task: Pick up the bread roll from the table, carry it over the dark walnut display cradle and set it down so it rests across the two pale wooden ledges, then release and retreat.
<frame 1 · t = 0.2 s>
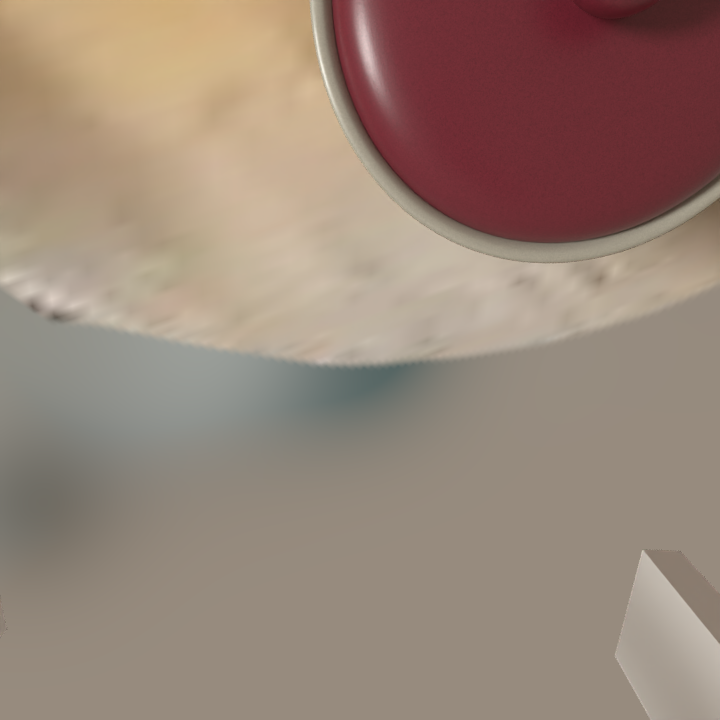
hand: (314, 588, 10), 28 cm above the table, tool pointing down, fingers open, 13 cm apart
canister: (473, 94, 33), on the table
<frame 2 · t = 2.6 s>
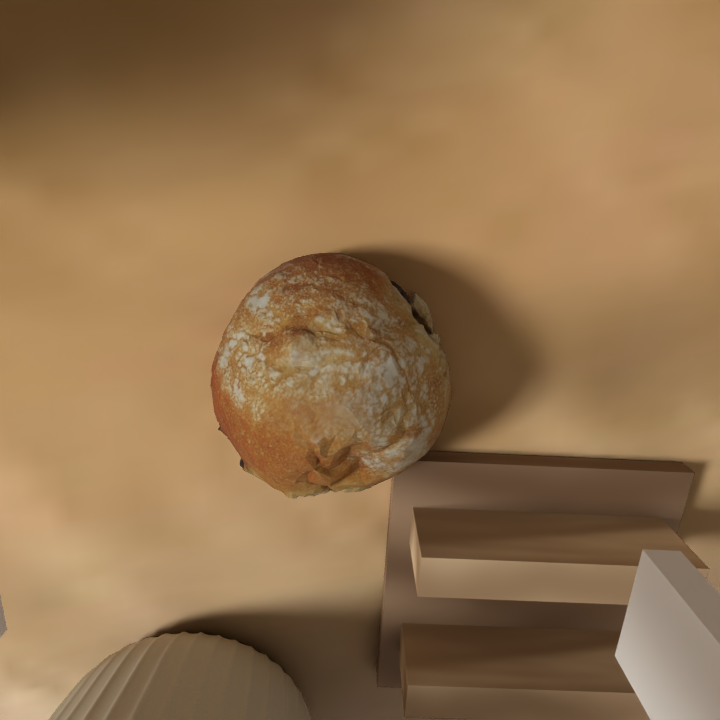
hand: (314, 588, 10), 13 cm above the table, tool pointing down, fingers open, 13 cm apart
bread roll: (331, 369, 23), on the table
canister: (203, 699, 29), on the table
display stand: (517, 574, 26), on the table
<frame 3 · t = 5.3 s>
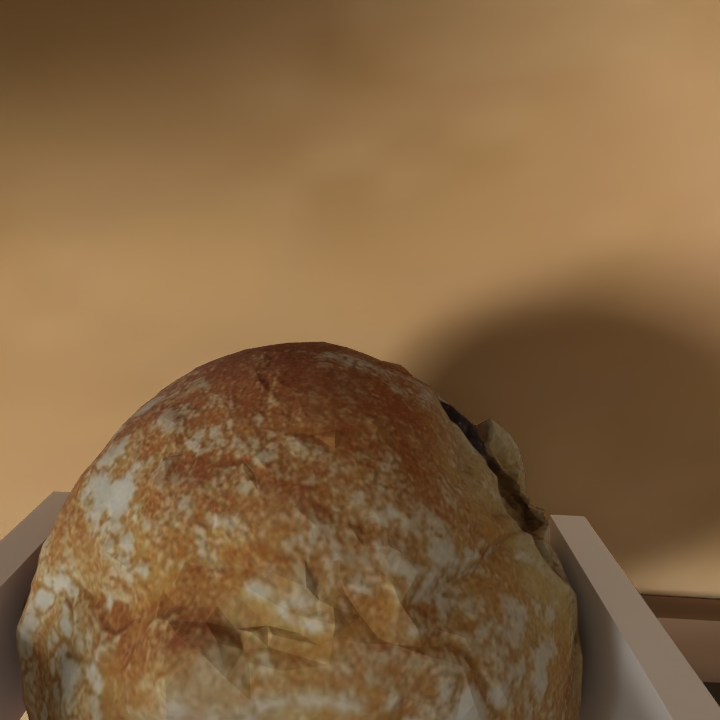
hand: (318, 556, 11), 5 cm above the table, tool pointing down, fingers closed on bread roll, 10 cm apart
bread roll: (315, 550, 12), point 4 cm above the table, touching gripper
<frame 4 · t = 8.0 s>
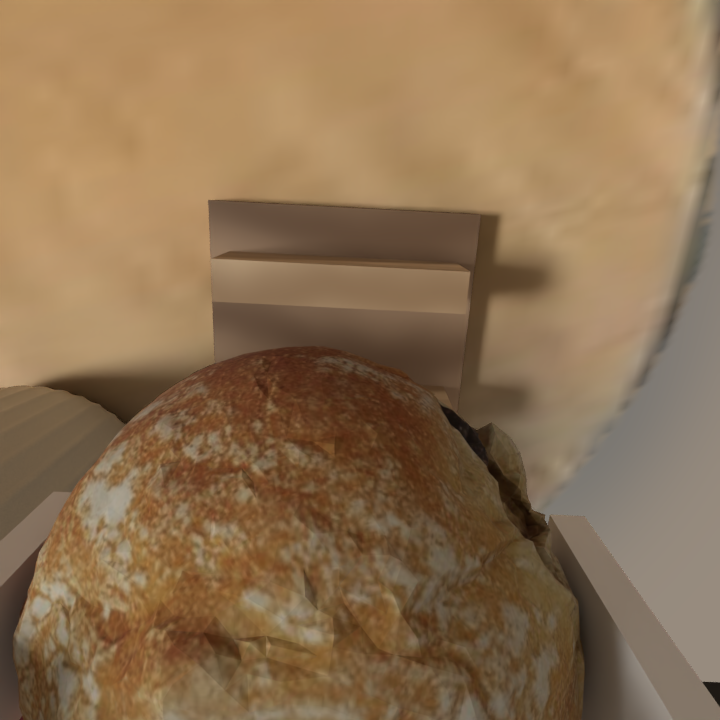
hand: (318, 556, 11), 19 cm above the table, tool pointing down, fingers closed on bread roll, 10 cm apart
bread roll: (315, 555, 12), point 18 cm above the table, touching gripper
canister: (67, 472, 32), on the table
display stand: (340, 334, 29), on the table
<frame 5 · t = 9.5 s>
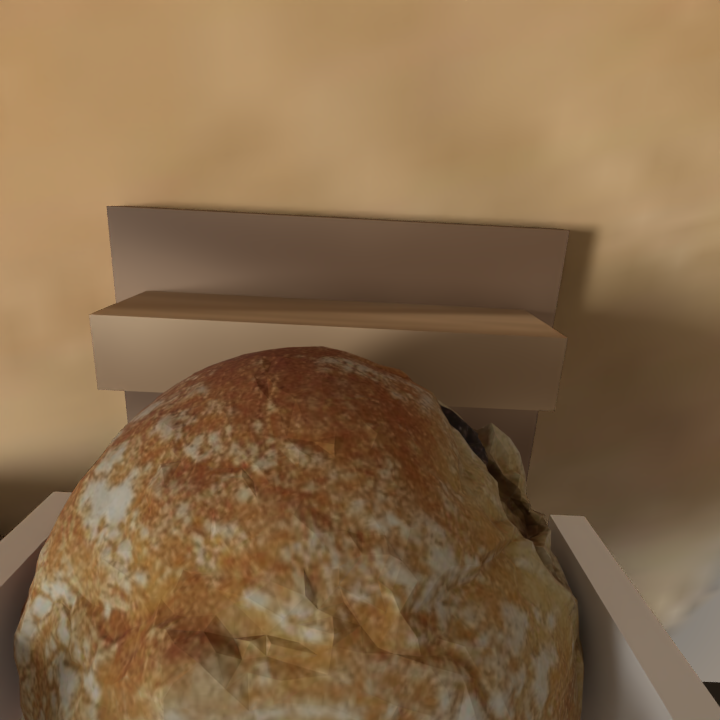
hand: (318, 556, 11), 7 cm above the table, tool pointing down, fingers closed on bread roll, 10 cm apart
bread roll: (315, 555, 12), point 7 cm above the table, touching gripper
display stand: (333, 417, 18), on the table
when the fingers open (4 cm above the table, at t = 10.7 s): bread roll stays where it is, resting on display stand.
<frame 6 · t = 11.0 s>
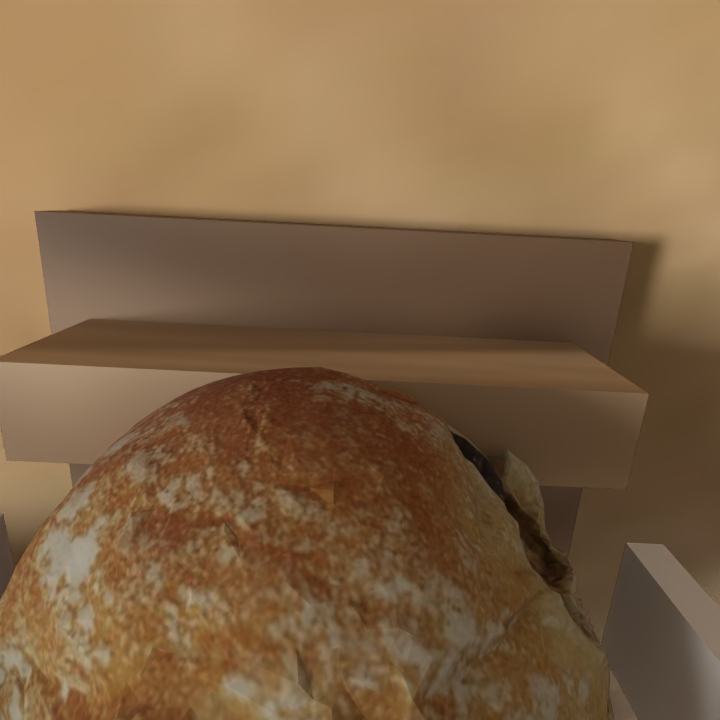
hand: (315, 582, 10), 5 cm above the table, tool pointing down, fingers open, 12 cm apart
bread roll: (312, 590, 11), point 4 cm above the table, touching display stand
display stand: (329, 470, 15), on the table
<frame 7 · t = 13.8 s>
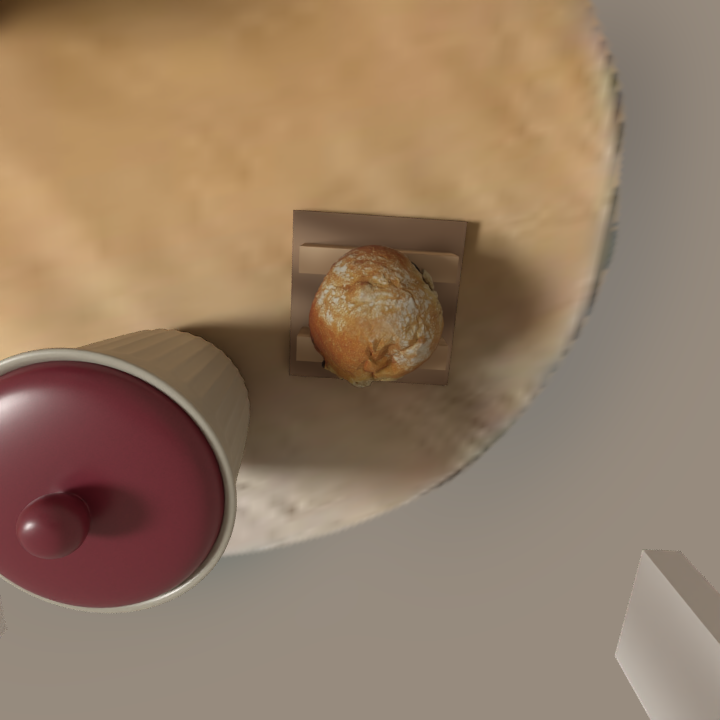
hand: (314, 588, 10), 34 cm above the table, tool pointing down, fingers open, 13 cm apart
bread roll: (373, 314, 39), point 4 cm above the table, touching display stand
canister: (182, 394, 46), on the table
display stand: (373, 300, 43), on the table
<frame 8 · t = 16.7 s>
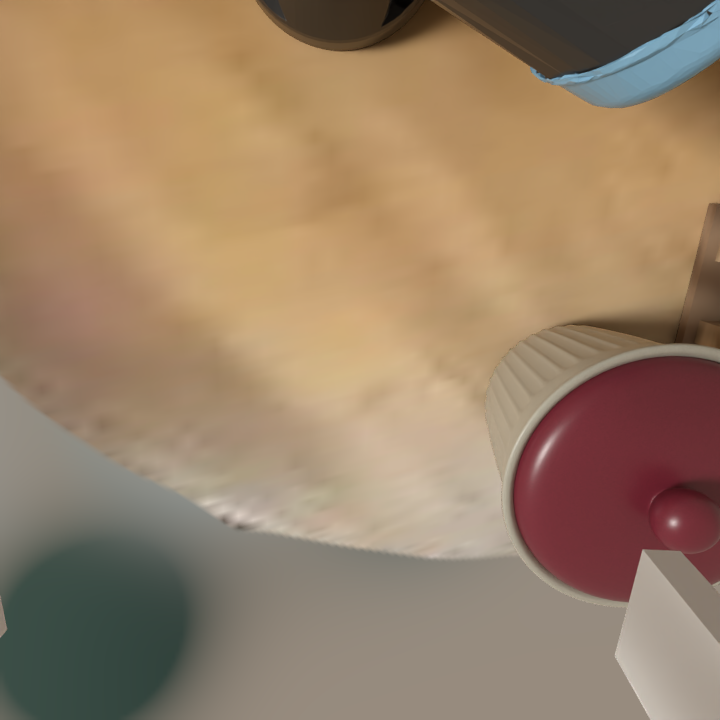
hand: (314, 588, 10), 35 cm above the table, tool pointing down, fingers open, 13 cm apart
canister: (552, 390, 46), on the table
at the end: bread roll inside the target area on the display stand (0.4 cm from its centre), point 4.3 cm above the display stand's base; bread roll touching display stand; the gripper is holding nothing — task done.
